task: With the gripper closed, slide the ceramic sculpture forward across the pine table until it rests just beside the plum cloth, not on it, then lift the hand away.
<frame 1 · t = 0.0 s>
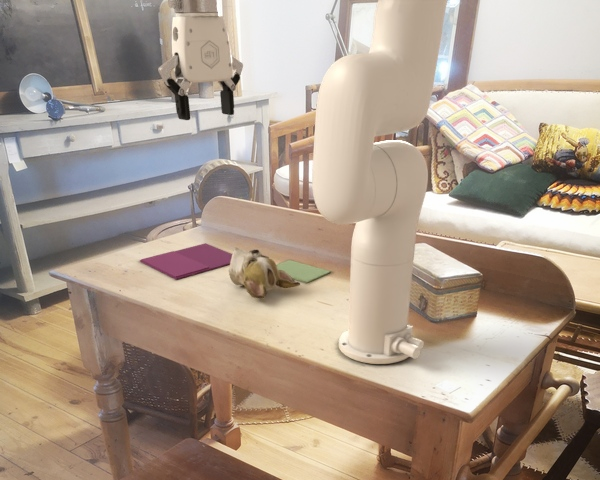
hand: (206, 116, 111), 31 cm above the table, tool pointing down, fingers open, 9 cm apart
sage cloth: (297, 271, 129), on the table
ceramic sculpture: (259, 291, 120), on the table
plum cloth: (192, 260, 136), on the table
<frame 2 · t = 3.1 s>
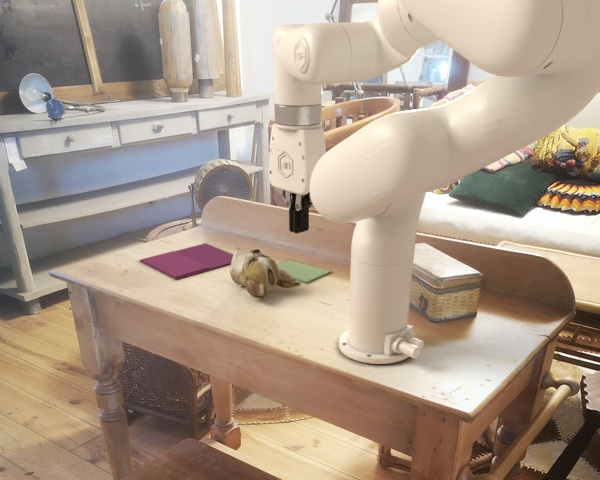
hand: (299, 230, 104), 15 cm above the table, tool pointing down, fingers closed
nothing on the table moved.
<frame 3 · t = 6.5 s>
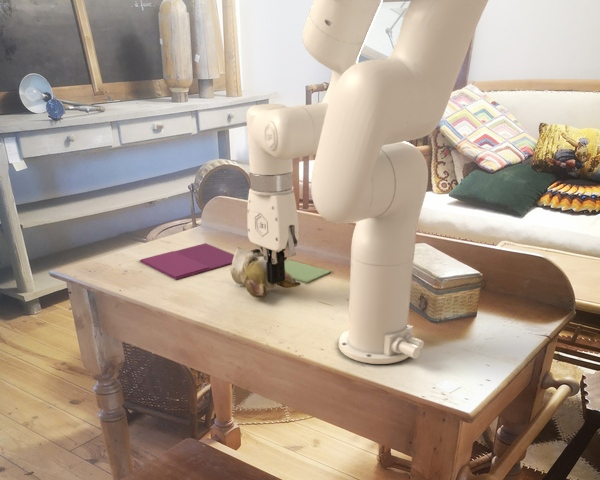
hand: (276, 281, 115), 4 cm above the table, tool pointing down, fingers closed
ceramic sculpture: (260, 291, 121), on the table, touching gripper
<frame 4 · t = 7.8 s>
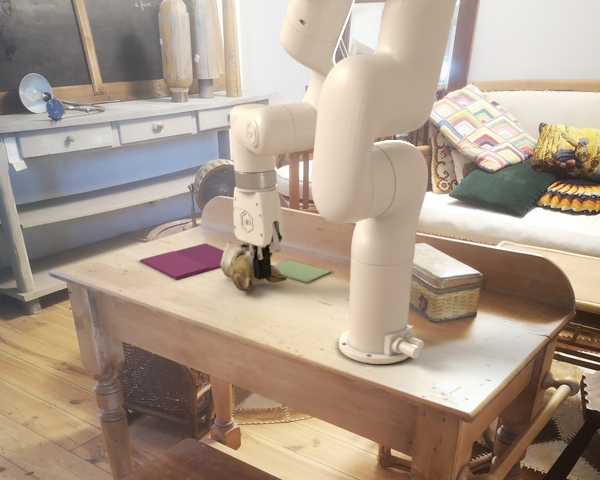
hand: (262, 276, 118), 3 cm above the table, tool pointing down, fingers closed
ceramic sculpture: (248, 285, 124), on the table, touching gripper
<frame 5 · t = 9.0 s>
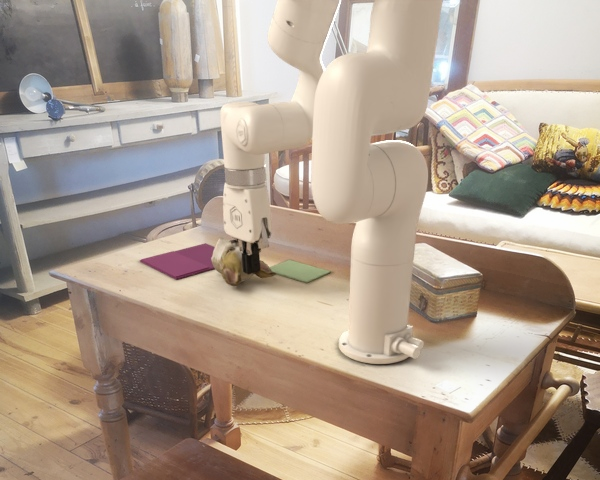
hand: (251, 271, 120), 3 cm above the table, tool pointing down, fingers closed
ceramic sculpture: (239, 280, 126), on the table, touching gripper
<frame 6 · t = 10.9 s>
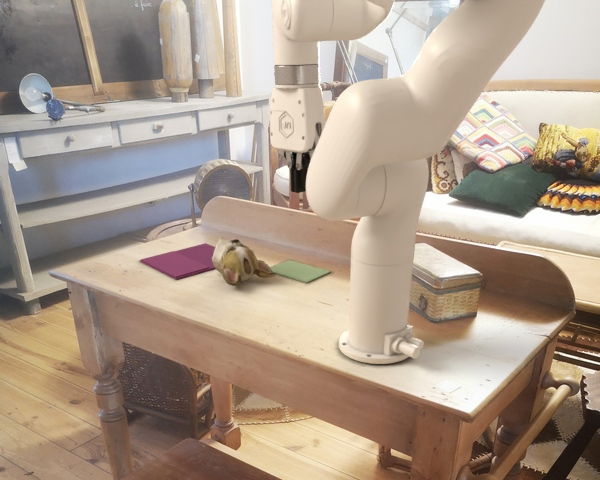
hand: (300, 191, 109), 20 cm above the table, tool pointing down, fingers closed
ceramic sculpture: (239, 280, 126), on the table
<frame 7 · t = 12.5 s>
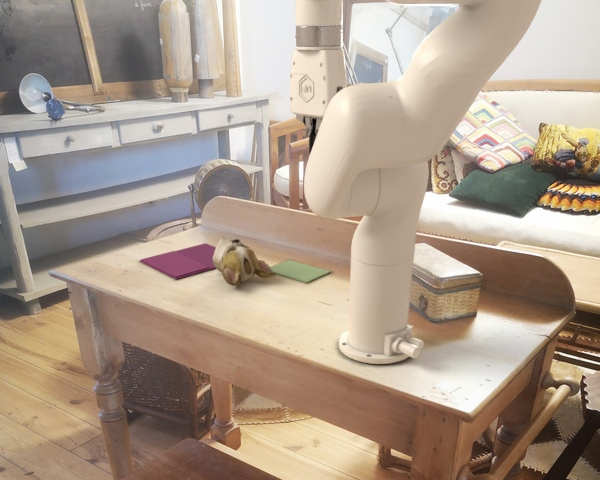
hand: (318, 158, 107), 25 cm above the table, tool pointing down, fingers closed
nothing on the table moved.
at the end: ceramic sculpture inside the target area on the table beside the plum cloth (1.3 cm from its centre), on the table; ceramic sculpture tilted 0°; ceramic sculpture moved 8.2 cm from its start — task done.
